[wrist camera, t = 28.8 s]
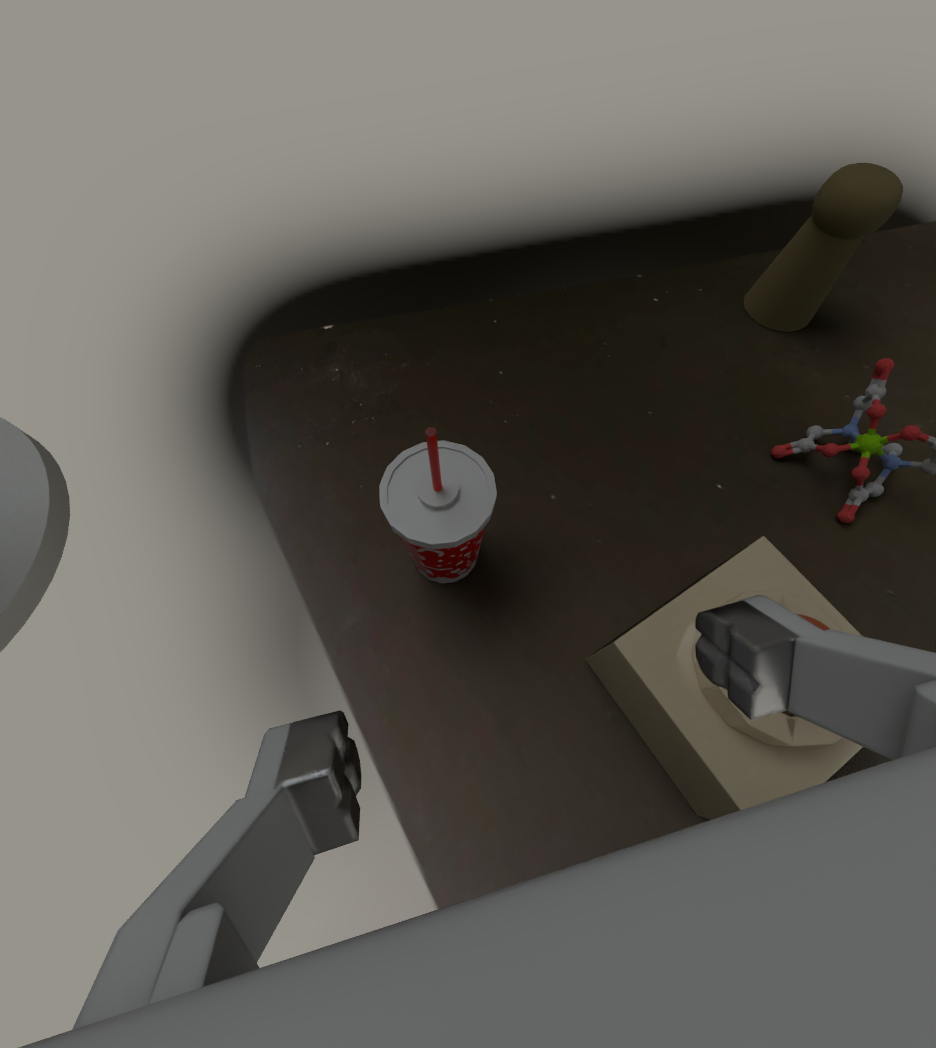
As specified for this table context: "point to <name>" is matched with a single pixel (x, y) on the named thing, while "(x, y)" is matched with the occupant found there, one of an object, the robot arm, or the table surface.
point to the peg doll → (823, 246)
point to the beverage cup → (439, 505)
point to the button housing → (720, 693)
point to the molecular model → (865, 444)
